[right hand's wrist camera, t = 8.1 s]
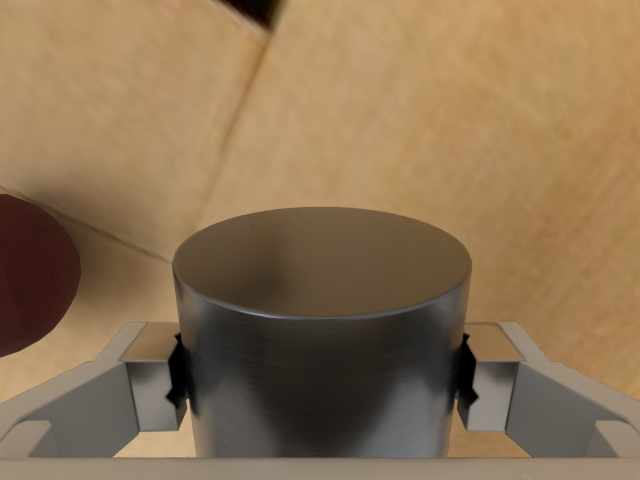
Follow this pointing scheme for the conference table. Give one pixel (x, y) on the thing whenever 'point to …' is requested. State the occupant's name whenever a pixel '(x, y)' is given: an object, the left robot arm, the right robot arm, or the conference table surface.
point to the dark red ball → (33, 273)
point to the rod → (322, 334)
